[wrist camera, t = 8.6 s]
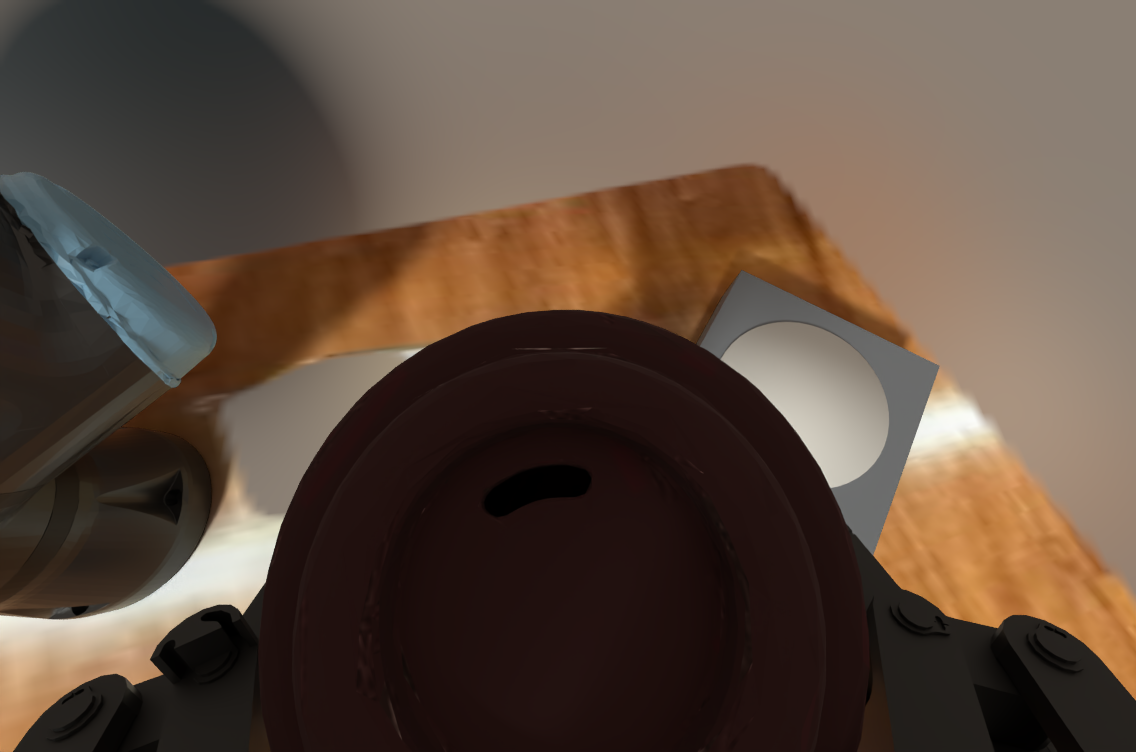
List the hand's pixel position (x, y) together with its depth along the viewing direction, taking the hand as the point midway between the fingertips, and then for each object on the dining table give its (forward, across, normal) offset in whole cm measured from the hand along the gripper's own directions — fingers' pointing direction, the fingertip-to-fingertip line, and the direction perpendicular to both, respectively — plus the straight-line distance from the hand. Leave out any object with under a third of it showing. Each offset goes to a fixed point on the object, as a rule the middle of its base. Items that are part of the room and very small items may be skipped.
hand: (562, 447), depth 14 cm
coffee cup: (+3, 0, -7) cm, 7 cm away
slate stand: (+20, +19, -13) cm, 30 cm away
